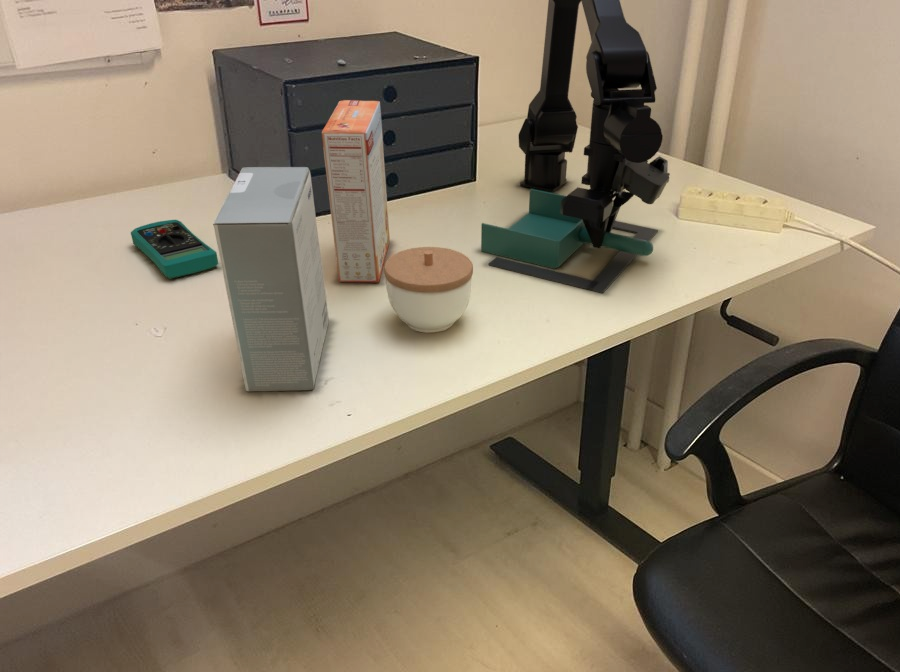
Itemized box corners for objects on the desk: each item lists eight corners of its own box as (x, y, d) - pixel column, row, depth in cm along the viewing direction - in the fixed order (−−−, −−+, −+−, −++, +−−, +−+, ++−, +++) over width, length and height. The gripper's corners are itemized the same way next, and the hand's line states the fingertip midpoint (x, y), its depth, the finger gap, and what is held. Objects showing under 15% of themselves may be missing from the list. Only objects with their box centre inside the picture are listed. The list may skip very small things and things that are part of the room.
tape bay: (488, 265, 116) (488, 263, 115) (556, 210, 134) (556, 208, 134) (602, 293, 109) (603, 291, 109) (657, 231, 127) (658, 229, 127)
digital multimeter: (181, 233, 122) (177, 214, 120) (221, 268, 112) (217, 248, 111) (131, 245, 118) (127, 226, 116) (168, 282, 108) (163, 262, 107)
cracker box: (350, 241, 121) (338, 98, 110) (391, 242, 121) (382, 99, 110) (334, 283, 109) (319, 128, 98) (379, 284, 110) (368, 129, 98)
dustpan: (481, 251, 119) (481, 223, 117) (529, 213, 132) (530, 188, 130) (631, 287, 111) (635, 258, 109) (668, 243, 124) (672, 217, 121)
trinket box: (406, 350, 96) (402, 279, 90) (375, 310, 104) (370, 242, 98) (487, 331, 100) (488, 262, 95) (451, 294, 108) (451, 228, 103)
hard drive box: (267, 322, 100) (242, 165, 89) (329, 321, 101) (313, 165, 90) (243, 393, 87) (211, 220, 76) (315, 392, 88) (293, 220, 77)
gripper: (644, 168, 101) (630, 281, 110) (687, 131, 115) (671, 233, 124) (562, 154, 105) (555, 263, 114) (613, 119, 119) (603, 219, 128)
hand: (600, 244), depth 119 cm, fingers closed on dustpan, 2 cm apart
